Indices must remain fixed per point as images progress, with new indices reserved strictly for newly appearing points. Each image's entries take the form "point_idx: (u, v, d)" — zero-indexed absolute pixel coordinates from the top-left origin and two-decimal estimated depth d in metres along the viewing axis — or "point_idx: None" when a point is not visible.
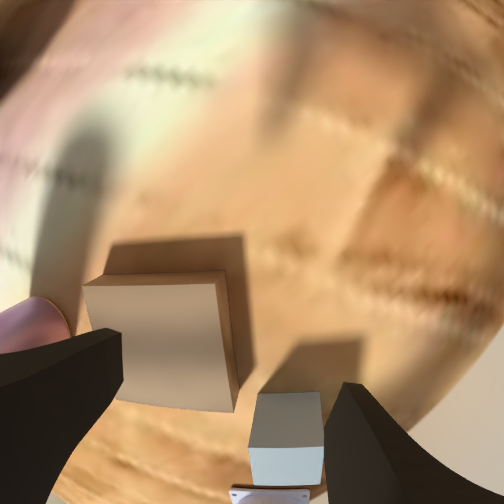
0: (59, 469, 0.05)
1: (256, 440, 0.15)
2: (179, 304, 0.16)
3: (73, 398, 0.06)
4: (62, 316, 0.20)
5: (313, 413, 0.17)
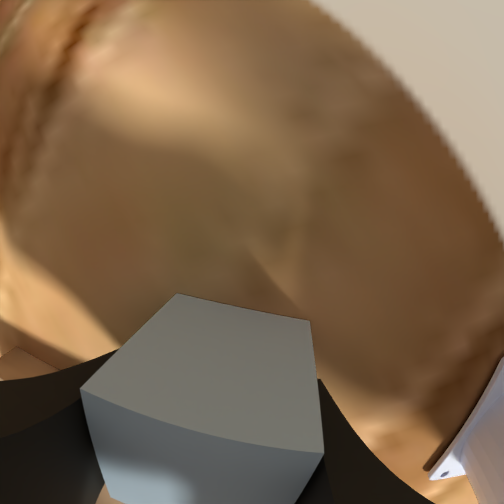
0: (99, 490, 0.05)
1: None
2: None
3: None
4: None
5: None
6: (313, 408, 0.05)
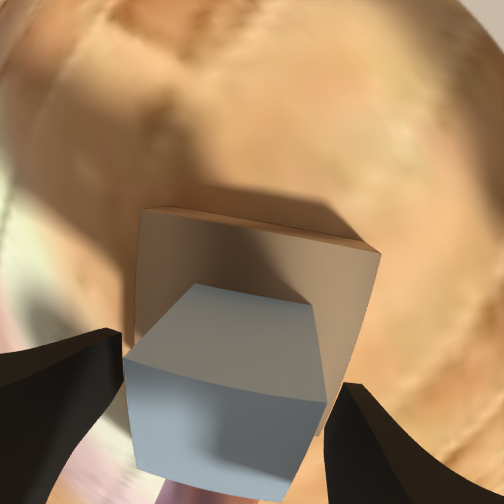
0: (59, 469, 0.05)
1: None
2: (163, 271, 0.11)
3: (73, 398, 0.06)
4: None
5: None
6: (317, 370, 0.07)
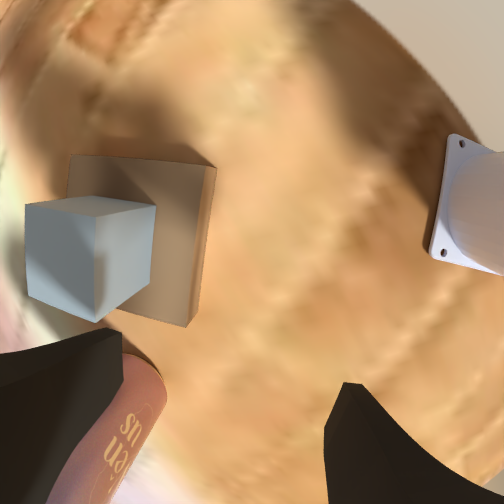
0: (59, 469, 0.05)
1: None
2: (80, 191, 0.16)
3: (73, 398, 0.06)
4: None
5: None
6: (110, 213, 0.11)
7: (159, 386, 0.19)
